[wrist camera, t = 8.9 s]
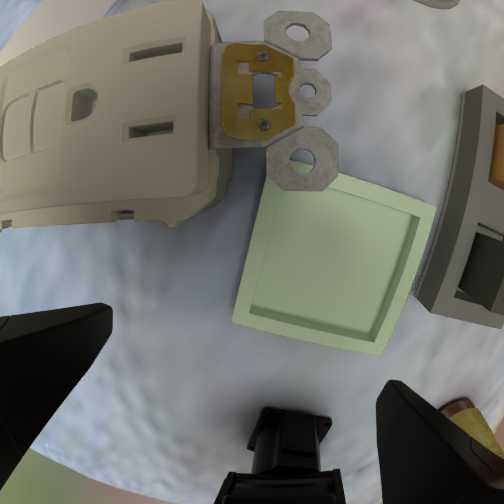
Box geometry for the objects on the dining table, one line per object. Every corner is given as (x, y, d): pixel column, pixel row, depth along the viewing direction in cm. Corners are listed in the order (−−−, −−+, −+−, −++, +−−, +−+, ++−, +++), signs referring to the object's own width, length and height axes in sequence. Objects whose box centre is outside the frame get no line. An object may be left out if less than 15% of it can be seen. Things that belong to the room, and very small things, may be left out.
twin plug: (480, 289, 18) (529, 325, 11) (446, 279, 18) (496, 317, 11) (496, 242, 17) (552, 266, 10) (463, 227, 17) (521, 248, 10)
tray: (375, 344, 20) (380, 356, 19) (235, 311, 21) (231, 322, 19) (425, 204, 18) (436, 207, 16) (273, 157, 18) (271, 154, 17)
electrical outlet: (8, 110, 19) (-64, 101, 9) (305, 53, 17) (330, -28, 8) (7, 222, 22) (-67, 244, 12) (309, 210, 20) (346, 237, 10)
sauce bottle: (425, 410, 22) (486, 576, 2) (477, 387, 20) (557, 527, 1) (421, 445, 23) (461, 587, 4) (468, 425, 22) (524, 551, 2)
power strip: (482, 313, 19) (500, 329, 16) (414, 295, 19) (430, 312, 16) (526, 137, 15) (548, 135, 12) (462, 93, 15) (482, 84, 12)
